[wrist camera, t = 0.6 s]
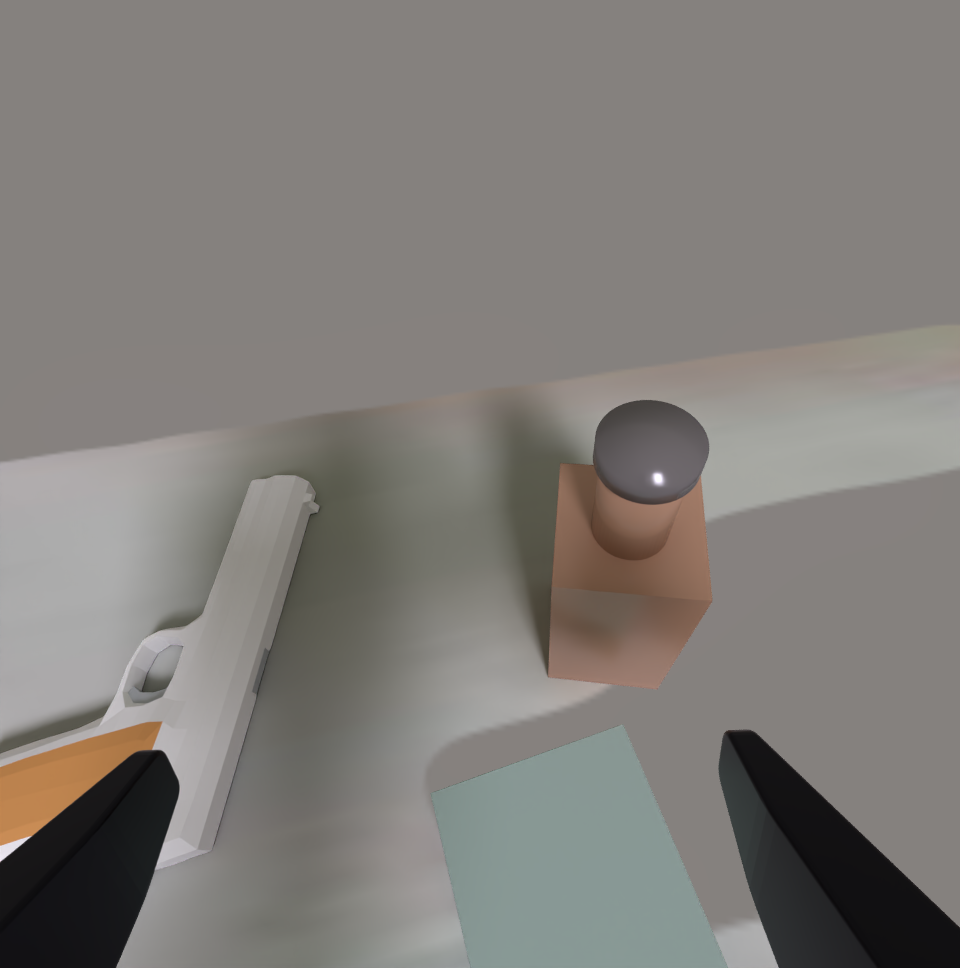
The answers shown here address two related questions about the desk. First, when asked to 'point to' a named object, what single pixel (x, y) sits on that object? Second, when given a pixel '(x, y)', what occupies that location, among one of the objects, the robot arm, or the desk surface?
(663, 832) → the mat
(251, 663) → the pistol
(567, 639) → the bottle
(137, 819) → the robot arm
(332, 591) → the desk surface
